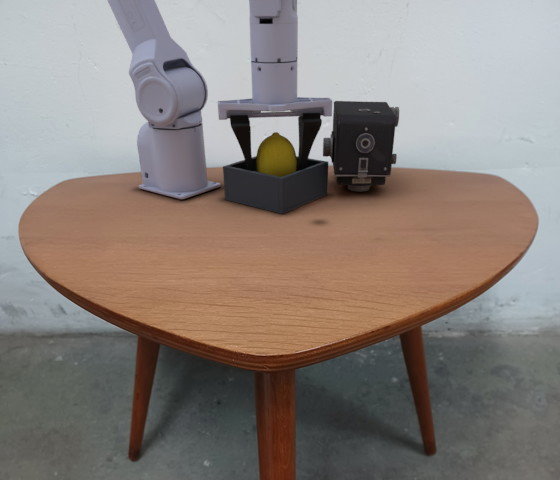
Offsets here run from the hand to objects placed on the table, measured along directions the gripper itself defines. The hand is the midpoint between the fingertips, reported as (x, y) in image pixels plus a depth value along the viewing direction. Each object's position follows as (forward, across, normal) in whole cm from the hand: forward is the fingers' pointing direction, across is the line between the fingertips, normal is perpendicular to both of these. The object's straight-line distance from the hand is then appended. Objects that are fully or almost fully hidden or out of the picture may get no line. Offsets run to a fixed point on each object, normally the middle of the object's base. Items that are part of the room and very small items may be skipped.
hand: (276, 174), depth 75 cm
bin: (+3, 0, 0) cm, 3 cm away
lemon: (+3, 0, 0) cm, 3 cm away
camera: (+3, +13, +5) cm, 14 cm away
